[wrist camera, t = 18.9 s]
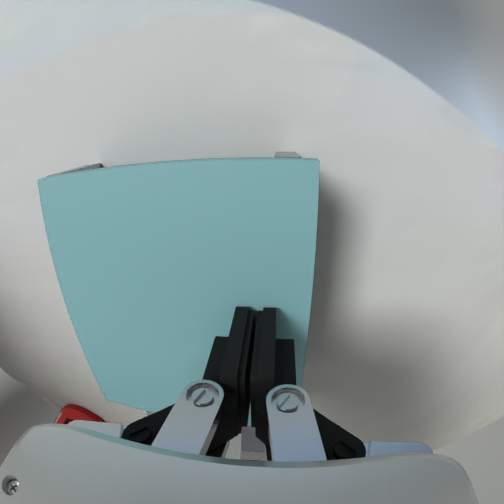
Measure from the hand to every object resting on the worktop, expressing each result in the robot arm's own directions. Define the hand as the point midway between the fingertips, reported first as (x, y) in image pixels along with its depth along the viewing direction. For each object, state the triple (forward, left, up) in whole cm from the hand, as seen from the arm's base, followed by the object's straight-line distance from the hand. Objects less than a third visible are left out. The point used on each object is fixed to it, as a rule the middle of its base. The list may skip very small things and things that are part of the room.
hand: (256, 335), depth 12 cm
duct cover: (-4, 0, -1) cm, 4 cm away
